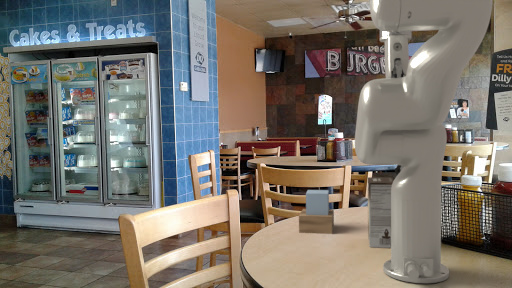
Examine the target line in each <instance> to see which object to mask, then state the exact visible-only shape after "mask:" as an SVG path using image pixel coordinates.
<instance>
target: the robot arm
mask: <svg viewBox="0 0 512 288" xmlns="http://www.w3.org/2000/svg"><path fill="white" fill-rule="evenodd" d="M368 1H369V2H368V3H369V11H370V17H371V21H372V23H373V26H375V28H376V29H377V30H379V42H380V43H384V70H385V71H384V72H385V78H376V79H372V80H369V81H368V82H366V83H365V84H364V85H363V87H362V89H361V90H360V94H359V97H358V98H359V99H358V104H357V105H358V106H357V115H356V125H355V134H354V151H355V155H356V157H357V159H358V161H360V162H361V163H363V164H365V165H369V166H371V165H372V166H397V165H403V166H404V168H403V169H402V170H400V173H399V174H398V175H397V176H396V175H395V178H393V180H394V181H393V184H392V187H391V248H390V254H391V255H390V257H391V258H390V259H388V260H387V261H385V262H384V263H383V265H382V266H383V267H382V270H383V272H384V273H385V274H386V275H387V276H388V277H390V278H392V279H396V280H398V281H402V282H407V283H412V284H413V283H415V284H436V283H440V282H444V281H446V280H447V279H449V277H450V270H449V268H448V267H447V266H446V265H444V264H443V263H442V261H441V260H442V253H441V252H442V251H441V250H442V176H443V165H444V160H445V159H444V158H445V154H446V153H445V152H446V148H447V139H448V137H447V136H448V135H447V129H446V127H445V125H443V123H444V122H445V121H446V119H447V117H448V115H449V112H450V109H451V107H452V105H453V101H454V98H455V95H456V93H457V90H458V86H459V83H460V79H461V76H462V75H463V72H464V70H465V69H466V67H467V66H468V63H470V60H471V59H472V58H473V57H474V55H475V53H476V52H477V50H478V49H479V47H480V45H481V43H482V42H483V39H484V38H485V36H486V33H487V31H488V28H489V25H490V21H491V17H492V16H491V15H492V10H493V9H492V8H493V0H368ZM419 31H420V32H421V31H422V32H423V31H437V33H436V34H434V35H433V36H431V37H429V38H428V39H427V40H426V41H425V42H424V43H423V44H422V45H421V46H420V47H419V48H418V49H417V50H416V51H414V52H413V55H412V56H411V57H410V56H409V41H411V40H412V32H419Z"/></svg>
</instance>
